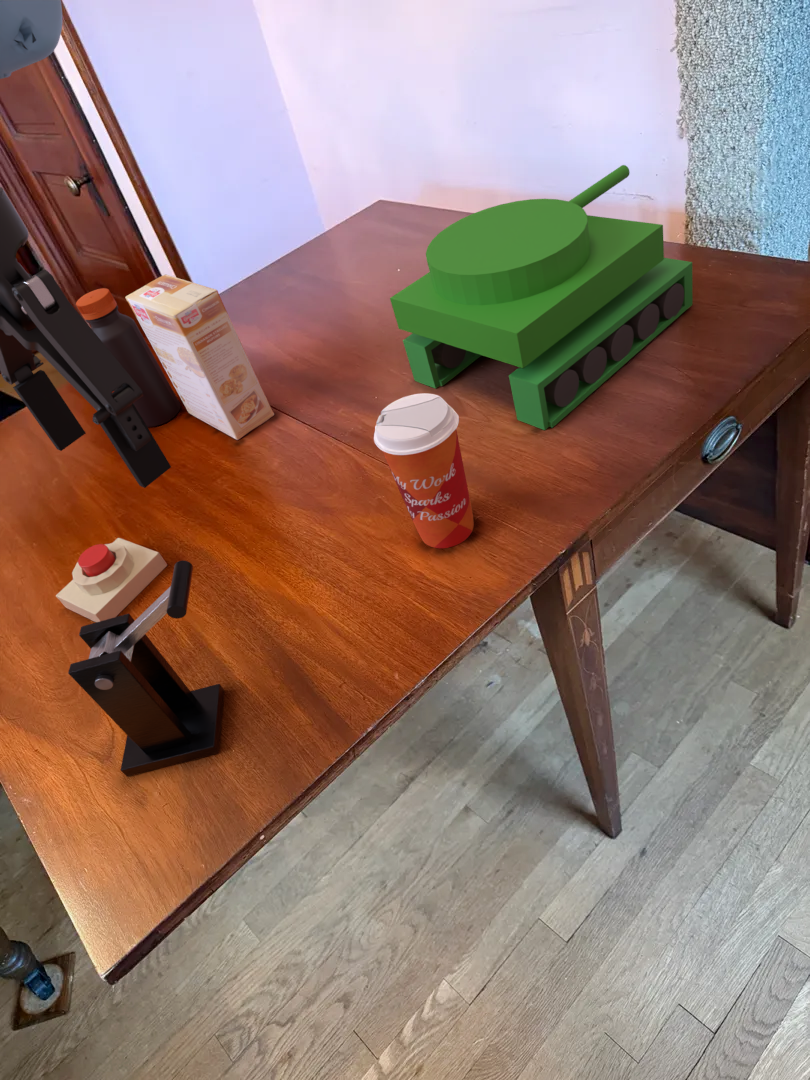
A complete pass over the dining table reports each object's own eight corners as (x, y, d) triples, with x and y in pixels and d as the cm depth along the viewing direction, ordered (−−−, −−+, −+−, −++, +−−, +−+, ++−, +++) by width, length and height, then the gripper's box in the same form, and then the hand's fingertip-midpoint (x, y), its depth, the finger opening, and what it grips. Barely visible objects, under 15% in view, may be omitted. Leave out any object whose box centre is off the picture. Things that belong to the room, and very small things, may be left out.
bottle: (132, 427, 116) (59, 310, 102) (158, 401, 120) (91, 285, 106) (163, 429, 112) (92, 309, 99) (190, 402, 116) (124, 283, 103)
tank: (719, 289, 100) (722, 162, 89) (547, 432, 87) (527, 305, 77) (575, 263, 116) (562, 153, 105) (413, 380, 104) (380, 269, 93)
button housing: (105, 627, 83) (86, 604, 81) (65, 607, 88) (46, 585, 85) (167, 565, 88) (151, 541, 86) (127, 549, 93) (110, 526, 90)
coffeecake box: (276, 414, 107) (218, 288, 94) (237, 442, 104) (172, 316, 91) (224, 389, 117) (165, 271, 104) (187, 413, 114) (122, 296, 101)
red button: (98, 580, 84) (89, 570, 83) (80, 572, 86) (71, 562, 85) (121, 558, 86) (113, 547, 84) (103, 551, 88) (95, 540, 86)
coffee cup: (402, 557, 79) (359, 445, 69) (418, 504, 84) (381, 393, 74) (479, 555, 76) (446, 439, 66) (491, 500, 81) (462, 385, 71)
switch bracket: (224, 690, 72) (156, 597, 63) (219, 753, 67) (143, 662, 58) (138, 712, 73) (58, 624, 64) (126, 777, 68) (37, 690, 59)
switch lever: (201, 568, 60) (175, 554, 59) (195, 614, 56) (167, 600, 55) (119, 646, 65) (94, 635, 64) (109, 693, 61) (82, 682, 60)
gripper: (83, 175, 43) (234, 463, 57) (-76, 179, 58) (74, 406, 72) (-32, 235, 39) (159, 526, 53) (-170, 223, 54) (8, 452, 68)
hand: (111, 458), depth 62 cm, fingers open, 13 cm apart
